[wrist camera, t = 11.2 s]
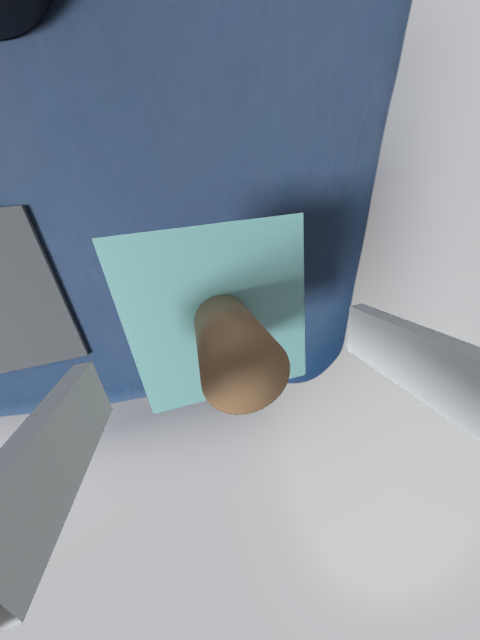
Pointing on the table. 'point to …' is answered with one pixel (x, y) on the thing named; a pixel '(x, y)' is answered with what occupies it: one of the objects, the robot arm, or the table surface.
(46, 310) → the mat
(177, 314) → the lid
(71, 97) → the table surface
